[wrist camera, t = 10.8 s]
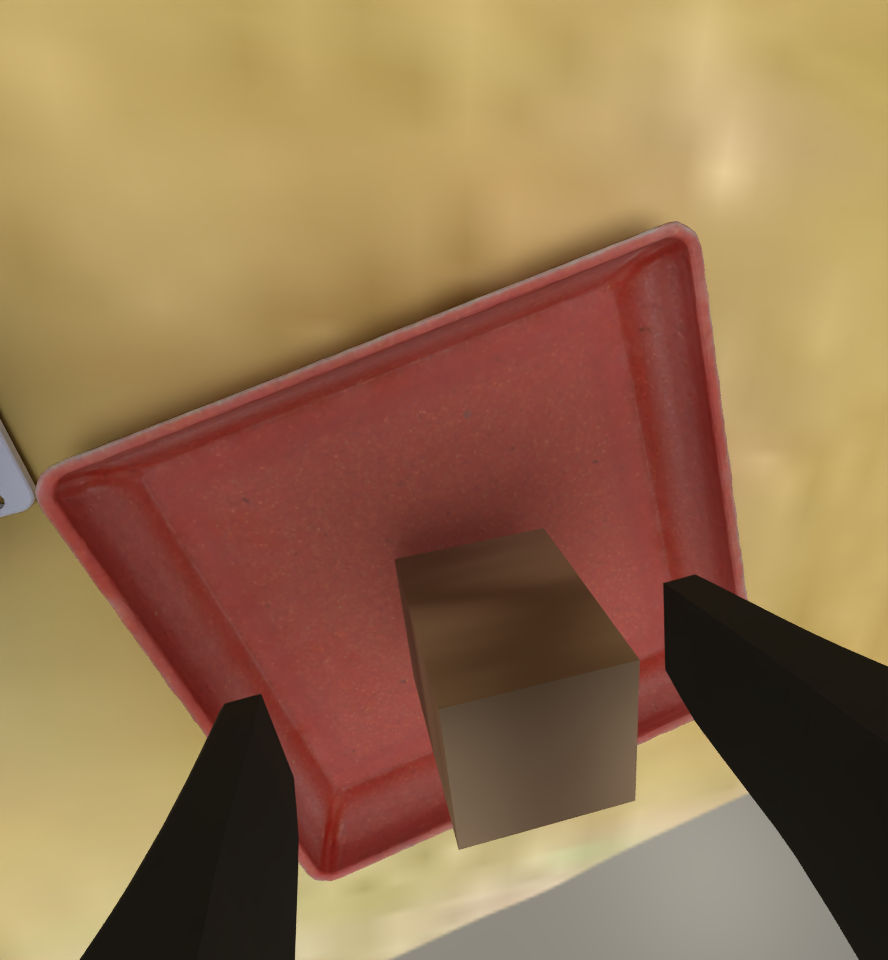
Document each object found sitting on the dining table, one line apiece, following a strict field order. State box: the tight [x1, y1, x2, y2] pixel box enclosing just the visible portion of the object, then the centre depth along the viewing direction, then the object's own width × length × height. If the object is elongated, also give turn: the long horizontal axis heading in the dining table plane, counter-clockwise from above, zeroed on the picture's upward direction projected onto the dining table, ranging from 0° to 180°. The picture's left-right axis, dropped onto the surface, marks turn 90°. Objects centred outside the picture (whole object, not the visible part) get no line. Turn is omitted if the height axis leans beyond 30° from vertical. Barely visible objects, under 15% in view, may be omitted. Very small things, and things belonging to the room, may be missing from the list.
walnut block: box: [395, 528, 640, 850], centre depth 18 cm, size 4×4×6 cm
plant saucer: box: [35, 221, 747, 881], centre depth 22 cm, size 18×18×3 cm
